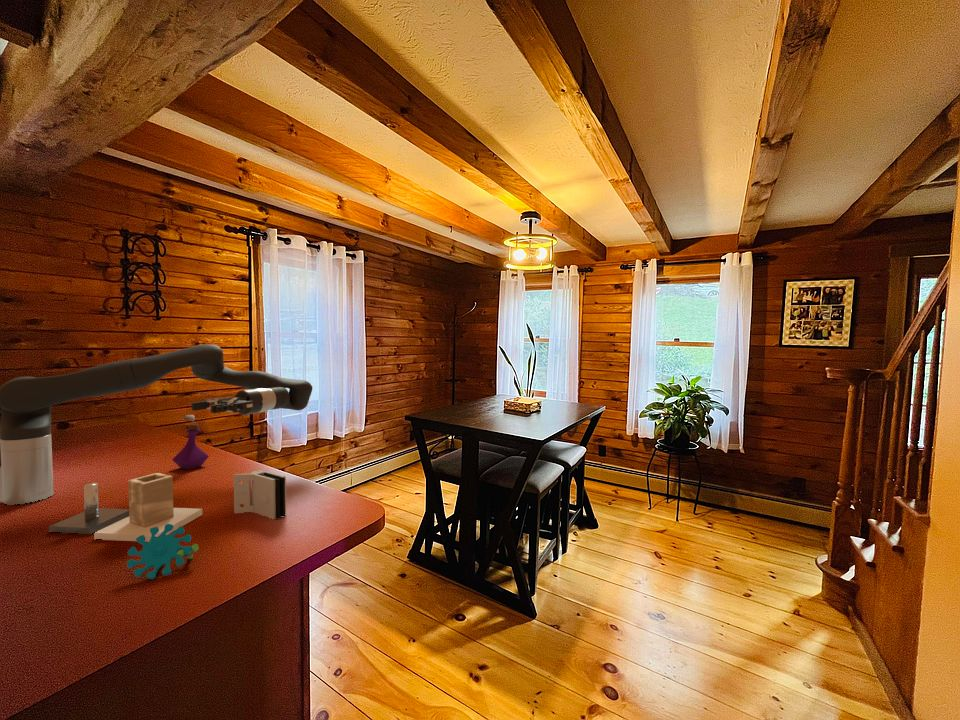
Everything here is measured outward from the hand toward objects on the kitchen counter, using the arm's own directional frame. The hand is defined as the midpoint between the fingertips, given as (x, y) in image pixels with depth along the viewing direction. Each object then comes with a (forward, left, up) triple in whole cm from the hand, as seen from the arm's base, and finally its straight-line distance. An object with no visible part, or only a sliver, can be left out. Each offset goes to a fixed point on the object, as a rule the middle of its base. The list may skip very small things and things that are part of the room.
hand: (201, 408), depth 112 cm
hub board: (0, -17, -25) cm, 30 cm away
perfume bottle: (-24, +25, -25) cm, 43 cm away
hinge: (+21, -8, -26) cm, 34 cm away
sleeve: (0, -17, -24) cm, 29 cm away
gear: (+18, -33, -26) cm, 46 cm away
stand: (-15, -17, -25) cm, 34 cm away
